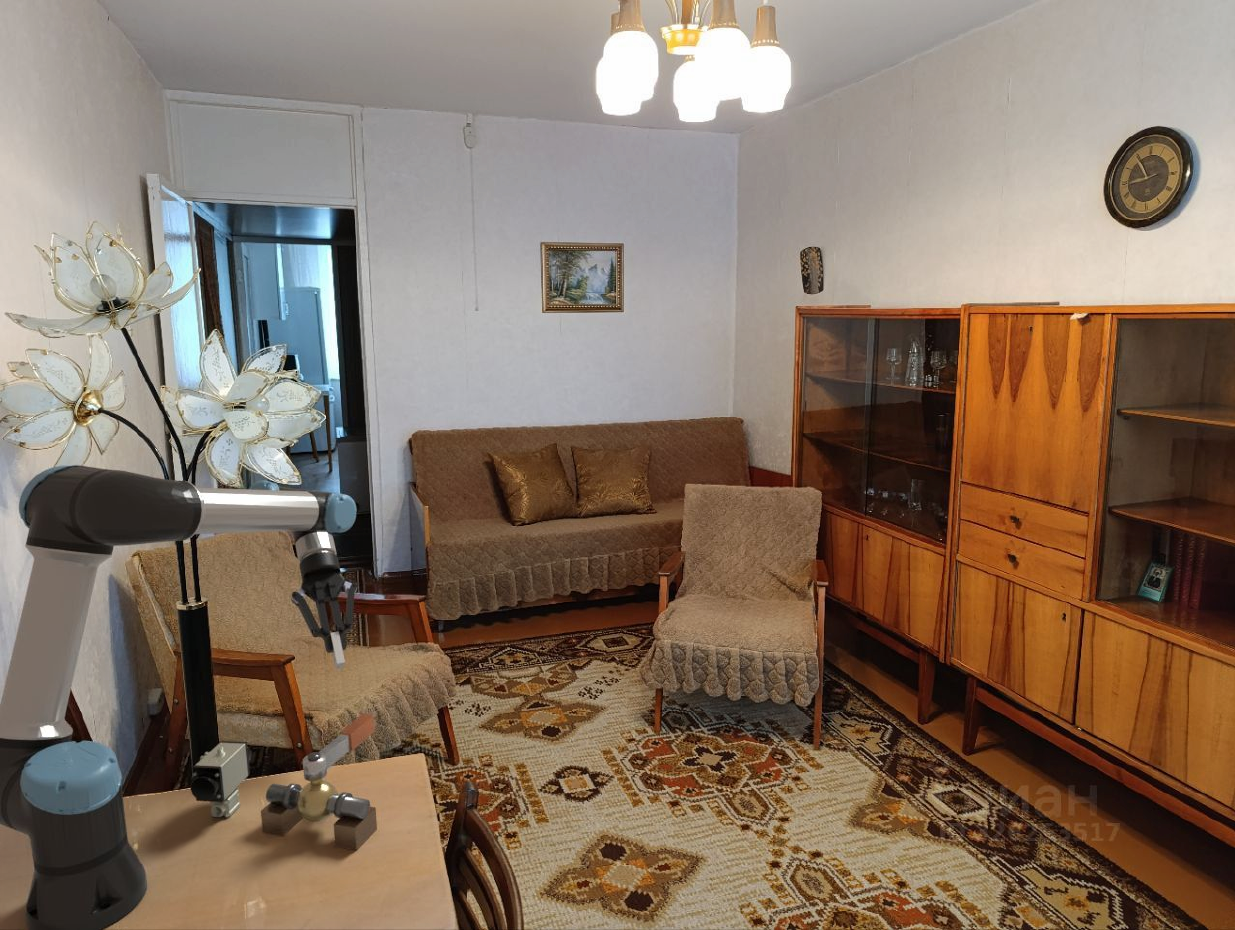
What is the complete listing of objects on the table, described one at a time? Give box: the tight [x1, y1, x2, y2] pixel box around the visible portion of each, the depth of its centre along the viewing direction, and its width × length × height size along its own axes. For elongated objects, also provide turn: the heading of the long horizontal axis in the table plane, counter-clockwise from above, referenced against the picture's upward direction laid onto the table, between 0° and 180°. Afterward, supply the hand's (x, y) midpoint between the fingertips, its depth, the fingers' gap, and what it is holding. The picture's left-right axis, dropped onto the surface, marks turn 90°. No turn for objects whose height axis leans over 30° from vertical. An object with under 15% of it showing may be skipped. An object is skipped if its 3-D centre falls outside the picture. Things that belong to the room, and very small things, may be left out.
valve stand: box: [260, 778, 378, 852], centre depth 142 cm, size 18×7×10 cm, turn 74°
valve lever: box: [302, 713, 376, 782], centre depth 147 cm, size 18×4×4 cm, turn 164°
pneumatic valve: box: [190, 740, 253, 818], centre depth 147 cm, size 6×12×12 cm, turn 174°
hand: (340, 665), depth 162 cm, fingers closed
